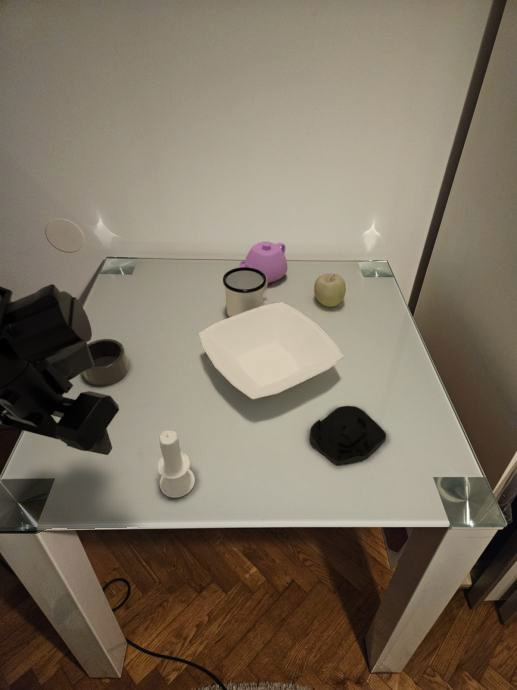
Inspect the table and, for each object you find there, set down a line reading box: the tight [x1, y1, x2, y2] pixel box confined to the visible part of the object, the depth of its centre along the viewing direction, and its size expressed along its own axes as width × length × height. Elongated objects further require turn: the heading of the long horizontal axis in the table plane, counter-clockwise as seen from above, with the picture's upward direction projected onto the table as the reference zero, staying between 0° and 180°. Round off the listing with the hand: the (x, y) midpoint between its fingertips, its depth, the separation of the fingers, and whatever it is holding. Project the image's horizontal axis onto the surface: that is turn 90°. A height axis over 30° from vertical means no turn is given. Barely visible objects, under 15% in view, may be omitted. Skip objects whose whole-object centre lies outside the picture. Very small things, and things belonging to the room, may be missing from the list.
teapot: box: [239, 241, 288, 286], centre depth 107 cm, size 10×15×9 cm
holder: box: [81, 338, 129, 387], centre depth 83 cm, size 8×8×4 cm
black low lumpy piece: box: [308, 405, 387, 466], centre depth 72 cm, size 12×10×5 cm
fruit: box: [313, 273, 347, 308], centre depth 100 cm, size 8×7×8 cm
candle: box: [157, 430, 196, 498], centre depth 63 cm, size 5×5×12 cm
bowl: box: [198, 301, 344, 400], centre depth 85 cm, size 22×23×6 cm
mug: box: [222, 266, 268, 318], centre depth 97 cm, size 12×10×9 cm
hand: (84, 443), depth 58 cm, fingers open, 9 cm apart
